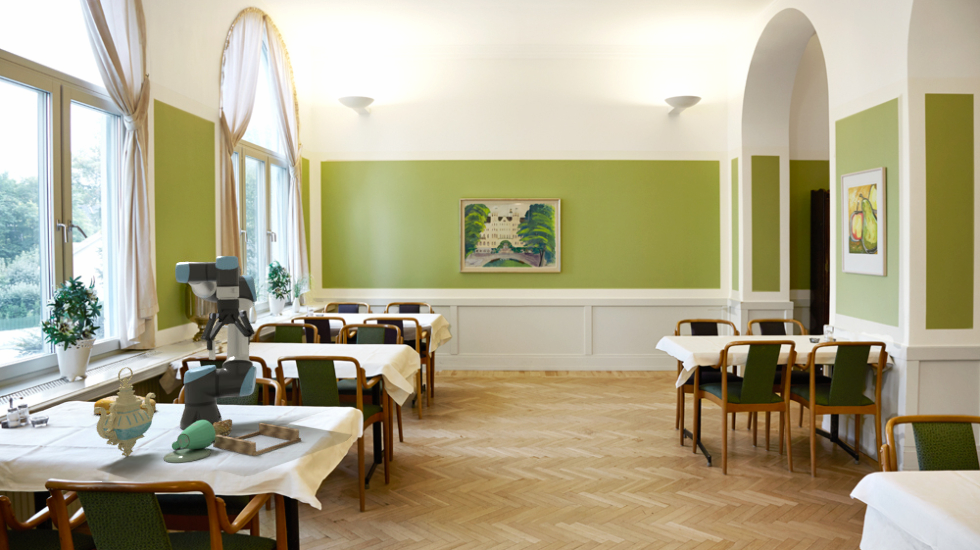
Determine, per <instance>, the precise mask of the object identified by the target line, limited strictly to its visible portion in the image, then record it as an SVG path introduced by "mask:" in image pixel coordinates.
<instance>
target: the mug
mask: <svg viewBox="0 0 980 550" xmlns="http://www.w3.org/2000/svg"><path fill="white" fill-rule="evenodd" d="M176 439H177V440H176V441H174V442H172V443H171V448H172V450H173V451H178V450H181V449H201V448H205V449H208V447H209V448H210V446H212V445H213V442H215V440H214V439H215V429H214V427H213V425H212V424H211V423H210V422H208V421H206V420H199V421H196V422H195V423H193V424H192V425H190V426H189V427H187V428H186V429H183V431H182V432H181V433H180V434H179V435H178V436H177V438H176Z"/></svg>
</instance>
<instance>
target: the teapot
mask: <svg viewBox="0 0 980 550" xmlns="http://www.w3.org/2000/svg"><path fill="white" fill-rule="evenodd" d="M124 369H128V371H130V377H129V378H127V377H126V376H125V377H124V378H123V379H121V373H122V371H124ZM133 375H134V372H133V369H131V368H130V367H123V368H121V369H119V371H118V375H117V378H118V381H119V382H121V383H122V384H121V383H119V386H120V387H118V390H119V392H116V394H117V396H118V397H116V401H115V402H113V403H110V404H109V406H111V407H110V409H109V411H110V412H111V413H110V414H109V415H107V413H106V410H105V409H104V408H102V407H95V409H94V408H93V413H94V414H95V413H99V410H100V411H101V415H99V419H98V421H97V424H96V432H97V434H98V435H99V437H101V439H104V440H107V441H106V445H110V446H117V449H118V450H120V451H121V453H122V454H121V456H125V457H129V456H130V455H131V454H132V453H133V452H134V451H133V448H134V446H135V445H136V443H137V441H138V440H139V439H143V438H145V437H146V436H145V435H144V434H145V433H147V431H148V430H149V429H150V428H151V426H152V422H153V418H154V414H155V412H154V410H153V408H152V406H151V404H150V399H155V398H156V394H155V392H149V393H147V395H146V396H144V397H145V401H144V402H145V404H142V402H143V400H141V399H140V398H138V397H137V398H136V396H137V395H136V394H134V393H135V392H136V390H133V388H134V386H133V384H132V383H129V382H130V381H131V380H132V378H133ZM141 405H142V408H147V409H148V414H147V413H146V412H145V411H144V410H142V409H140V406H141Z"/></svg>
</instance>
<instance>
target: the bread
mask: <svg viewBox="0 0 980 550" xmlns="http://www.w3.org/2000/svg"><path fill="white" fill-rule="evenodd" d="M116 397H118V395H112V396H107V397H104V398H101V399H99V400H97V401H96V402H95V403H94V405H93V410H94V409H95V407H102V408H104V409H105V410H106V413H107V415H109V414H110V413H111V412H110V411H109V409H110V407H111V406H109V404H110V403H113V402H115V401H116ZM137 397H138V398H140V399H141V400H143V402H142V404H145V402H144V401H145V397H146V396H140V395H136V398H137ZM150 404H151V406H152V408H153V410H154V413H155V412H156V409H157V407H156V404H157V402H156V400H154V398H150ZM140 409H142V410H144V411H145V412H146V413H147V414H148V409H147V408H142V405H141V406H140ZM94 414H95V415H96V414H101V411H100V410H99V413H94Z"/></svg>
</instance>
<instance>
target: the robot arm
mask: <svg viewBox="0 0 980 550" xmlns="http://www.w3.org/2000/svg"><path fill="white" fill-rule="evenodd" d="M174 272H175V279H176V280H175V281H176V282H177V283H183V284H189V285H190V287H191V290H192V292H193V294H194V295H195V296H196V297H198V298H199V299H201V300H204V301H206V302H210V303H216V309H217V312H210V313H209V314H208V320H207V323H206V325H205V328H204V330H203V332H202V335H201V337H200V339H201V340H203V341H205V342H206V350H207V351H208V360H213V361H215V360H216V359H217V358H216V355H217V354H216V340H214V339H215V338H216V336H217V335H218V334H219V332H221V330H222V328H223V327H224V326H225V325H227V334H226V335H227V341H226V360H225V361H224V362H223V363H222V367H221V368H217V366H216V365H215V364H211V365H210V364H208V365H202V366H198V367H193V368H191V369H188V370H187V371H185V373H184V377H183V384H184V385H183V386H184V388H183V389H184V390H183V392H184V409H183V412H182V414H181V419H180V421H179V427H180V429H182V430H185V429H186V428H187V427H189V426H190V425H192V424H193V423H195V422H196V421H199V420H206V421H208V422H210V423H211V424H212V425H213V424H214V423H215V422H219V421H223V417H222V415H221V412H220V410H219V407H218V404H217V403H218V402H217V401H218V400H217V399H218V398H220V399H221V398H233V397H244V396H250V395H253V393H254V392H255V386H256V382H257V381H256V380H257V367H256V366H255V365H254V363H253V362H252V360H250V343H251V337H252V336H253V335H255V329H254V328H253V326H252V324H251V322H250V309H251V308H253V307H254V303H256V302H257V301H258V300H257V299H258V298H257V297H258V296H257V292H256V290H257V289H256V284H255V278H254V277H253V276H252V275H244V274H242V269H241V267H240V264H239V257H238V256H235V255H231V256H230V255H224V256H223V255H219V256H217V257H216V258H215V261H205V262H204V261H203V262H202V261H199V262H198V261H194V262H193V261H190V262H189V261H185V262H184V261H183V262H177V263H175V269H174Z"/></svg>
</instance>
